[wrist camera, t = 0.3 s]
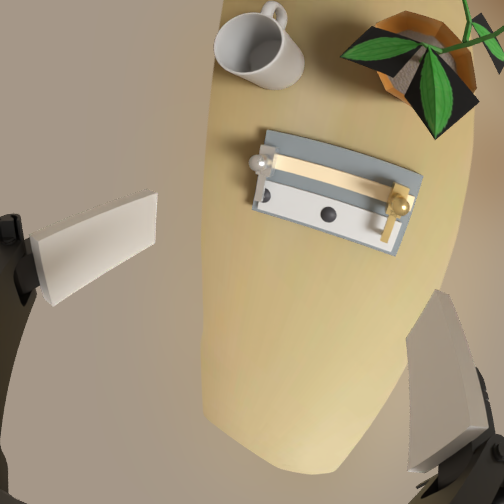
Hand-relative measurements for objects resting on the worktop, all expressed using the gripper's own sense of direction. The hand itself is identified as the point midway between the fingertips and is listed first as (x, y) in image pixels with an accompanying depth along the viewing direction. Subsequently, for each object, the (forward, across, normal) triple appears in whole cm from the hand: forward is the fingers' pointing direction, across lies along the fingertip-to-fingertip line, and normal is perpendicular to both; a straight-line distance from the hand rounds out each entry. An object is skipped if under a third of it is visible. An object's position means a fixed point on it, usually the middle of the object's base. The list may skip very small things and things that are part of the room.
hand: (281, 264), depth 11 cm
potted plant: (+29, +6, +17) cm, 35 cm away
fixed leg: (+26, -9, -2) cm, 28 cm away
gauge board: (+29, 0, -2) cm, 29 cm away
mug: (+30, -12, +16) cm, 36 cm away
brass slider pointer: (+26, +8, -1) cm, 28 cm away
